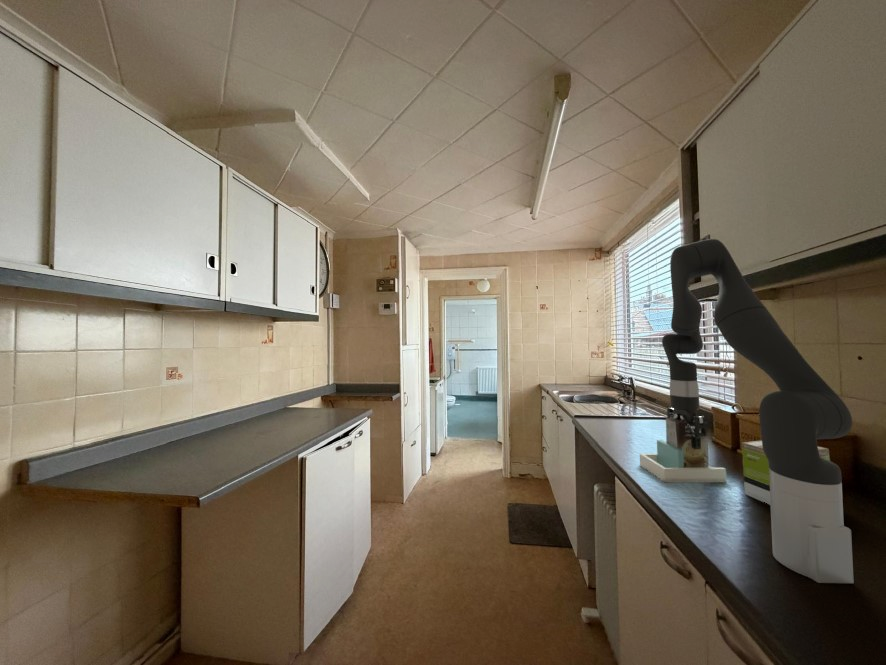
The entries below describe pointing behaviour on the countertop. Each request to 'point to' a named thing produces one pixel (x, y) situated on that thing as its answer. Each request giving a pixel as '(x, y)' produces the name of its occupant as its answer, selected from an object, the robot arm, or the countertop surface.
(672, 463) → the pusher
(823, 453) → the tea box
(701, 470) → the white rectangular tray
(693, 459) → the coffee box
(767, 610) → the countertop surface
